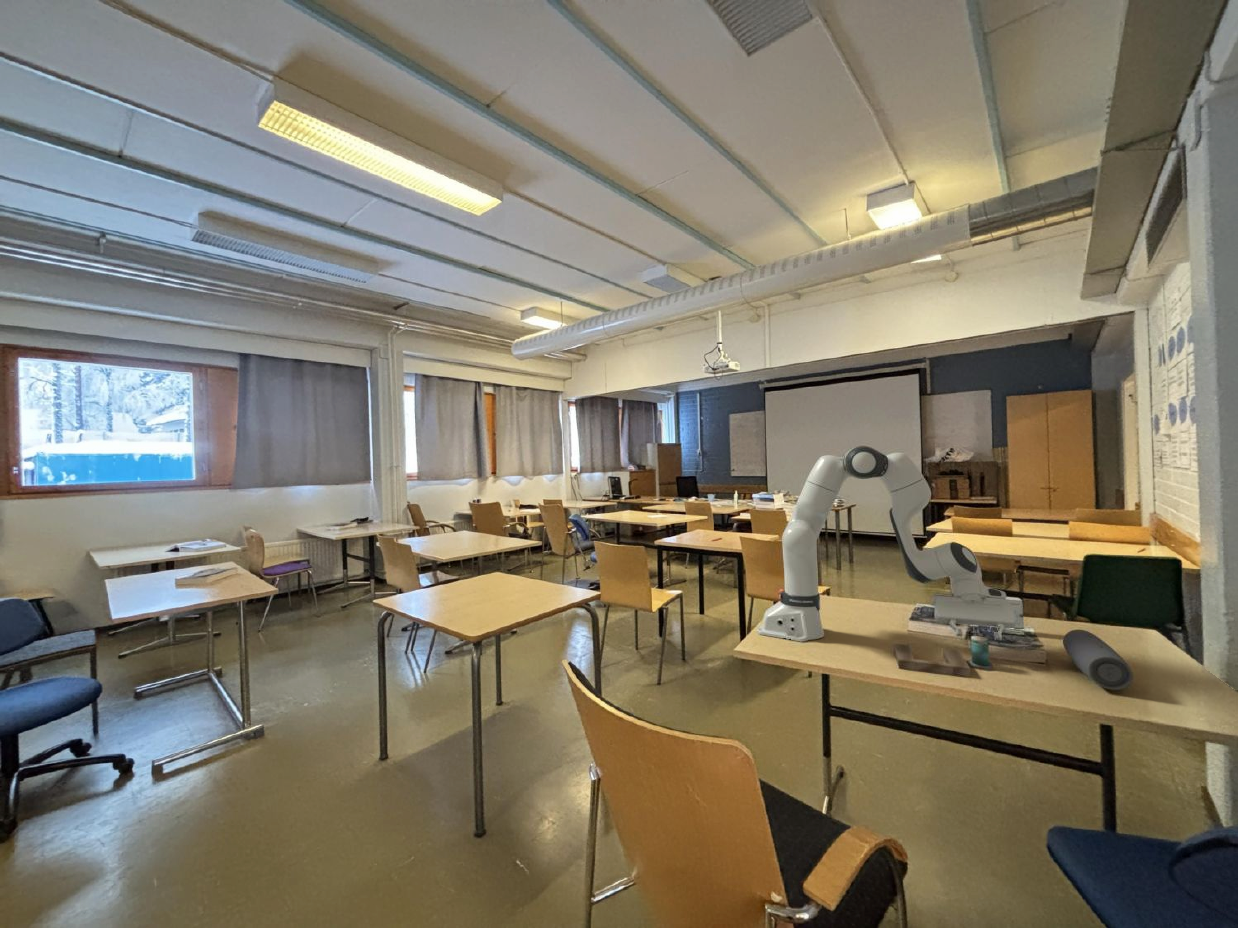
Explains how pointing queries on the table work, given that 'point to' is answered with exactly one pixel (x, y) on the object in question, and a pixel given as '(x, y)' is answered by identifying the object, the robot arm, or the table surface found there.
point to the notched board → (951, 667)
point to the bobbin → (980, 653)
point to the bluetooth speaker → (1097, 660)
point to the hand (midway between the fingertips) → (978, 637)
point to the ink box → (1017, 611)
